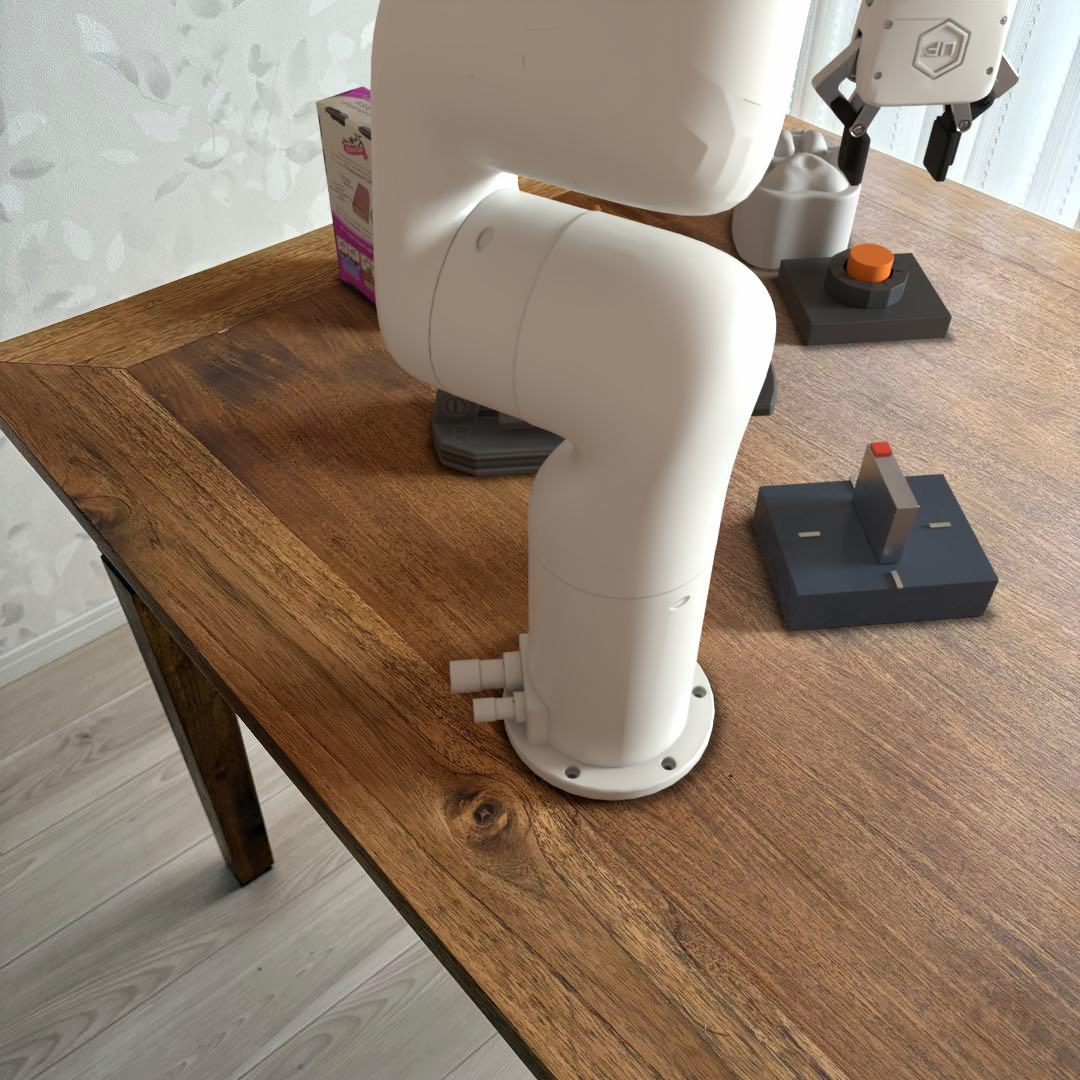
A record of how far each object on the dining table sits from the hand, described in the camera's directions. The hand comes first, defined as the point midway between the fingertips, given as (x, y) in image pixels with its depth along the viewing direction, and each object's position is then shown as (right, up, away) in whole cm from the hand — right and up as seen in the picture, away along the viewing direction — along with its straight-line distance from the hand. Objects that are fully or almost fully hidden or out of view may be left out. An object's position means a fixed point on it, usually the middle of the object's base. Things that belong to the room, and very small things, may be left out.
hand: (892, 173), depth 88 cm
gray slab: (-6, -28, -15) cm, 33 cm away
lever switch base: (-6, -31, -12) cm, 34 cm away
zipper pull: (-23, -21, -3) cm, 32 cm away
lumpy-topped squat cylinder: (-4, 0, +18) cm, 18 cm away
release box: (0, -9, +9) cm, 13 cm away
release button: (0, -6, +6) cm, 9 cm away
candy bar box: (-40, -8, +10) cm, 42 cm away
